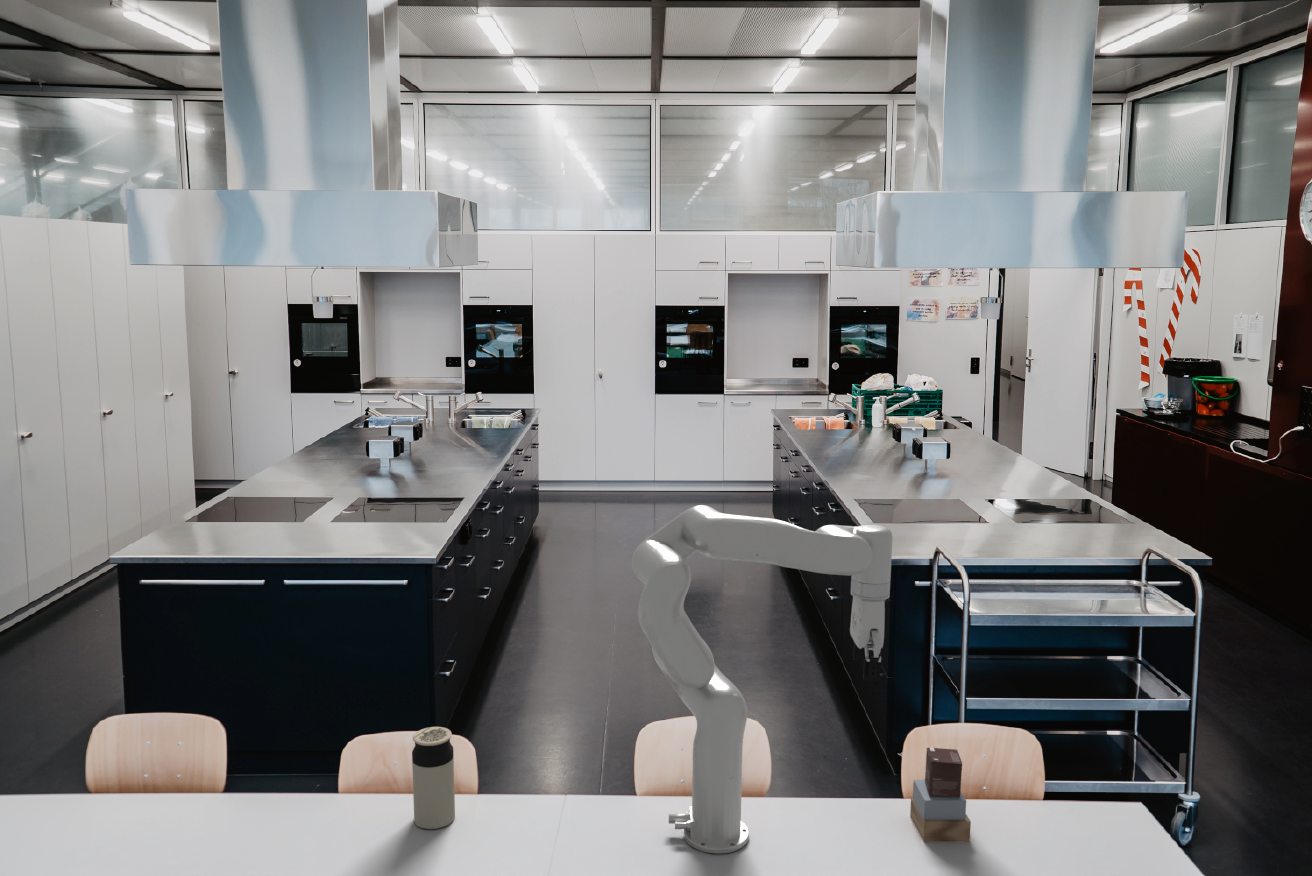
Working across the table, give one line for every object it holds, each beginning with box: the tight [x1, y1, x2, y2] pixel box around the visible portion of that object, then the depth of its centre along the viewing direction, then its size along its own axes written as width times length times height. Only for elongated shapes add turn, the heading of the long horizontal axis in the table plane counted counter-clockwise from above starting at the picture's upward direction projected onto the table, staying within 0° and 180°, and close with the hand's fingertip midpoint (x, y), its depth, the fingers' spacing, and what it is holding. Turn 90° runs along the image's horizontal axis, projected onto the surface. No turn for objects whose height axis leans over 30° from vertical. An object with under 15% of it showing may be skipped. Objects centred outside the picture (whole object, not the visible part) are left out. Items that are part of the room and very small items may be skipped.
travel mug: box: [411, 726, 456, 830], centre depth 189 cm, size 8×8×18 cm
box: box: [924, 747, 963, 798], centre depth 186 cm, size 6×6×7 cm
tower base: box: [909, 796, 972, 843], centre depth 188 cm, size 9×9×4 cm
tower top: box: [912, 779, 967, 820], centre depth 187 cm, size 8×8×4 cm
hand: (866, 670), depth 190 cm, fingers open, 9 cm apart
